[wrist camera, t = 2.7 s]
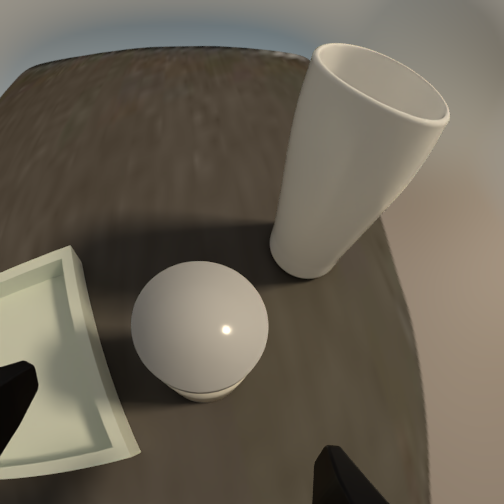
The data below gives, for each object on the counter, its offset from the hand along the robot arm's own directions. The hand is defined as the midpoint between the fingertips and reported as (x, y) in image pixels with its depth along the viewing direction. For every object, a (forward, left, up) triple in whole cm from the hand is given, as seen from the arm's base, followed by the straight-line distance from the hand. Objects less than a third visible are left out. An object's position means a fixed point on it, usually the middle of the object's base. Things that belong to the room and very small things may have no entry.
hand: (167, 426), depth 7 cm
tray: (-11, +6, -11) cm, 16 cm away
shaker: (+2, +3, -11) cm, 11 cm away
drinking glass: (+12, +8, -11) cm, 18 cm away
